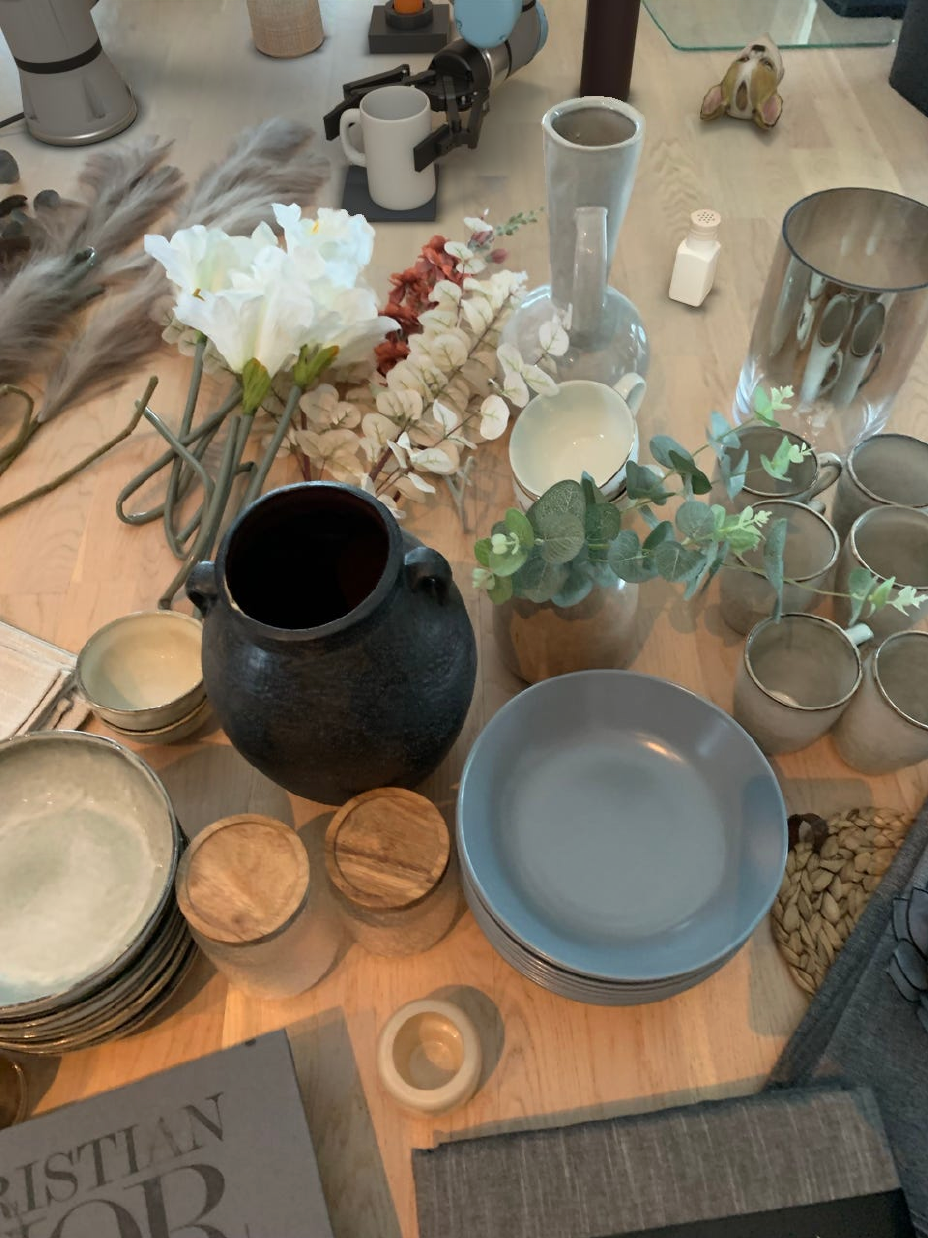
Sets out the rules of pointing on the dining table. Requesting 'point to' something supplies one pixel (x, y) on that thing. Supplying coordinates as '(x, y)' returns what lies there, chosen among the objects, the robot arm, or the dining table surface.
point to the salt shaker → (696, 259)
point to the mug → (392, 145)
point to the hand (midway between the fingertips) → (370, 144)
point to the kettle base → (409, 29)
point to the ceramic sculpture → (749, 86)
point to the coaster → (362, 203)
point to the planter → (286, 26)
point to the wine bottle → (609, 47)
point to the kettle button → (408, 6)
